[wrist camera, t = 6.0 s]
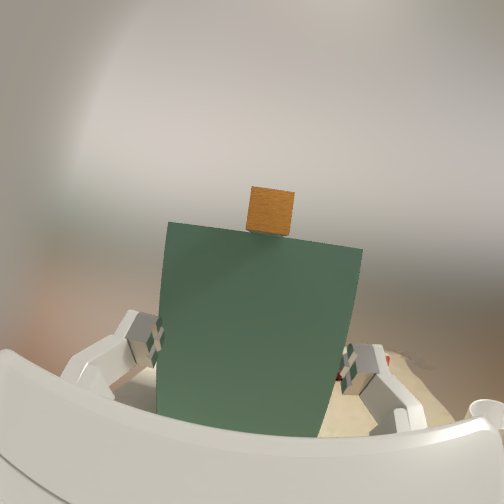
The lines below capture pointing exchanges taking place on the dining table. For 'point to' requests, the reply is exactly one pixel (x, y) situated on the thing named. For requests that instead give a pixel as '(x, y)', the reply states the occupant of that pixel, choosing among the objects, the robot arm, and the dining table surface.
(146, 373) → the dining table surface
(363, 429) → the dining table surface
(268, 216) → the lever bar
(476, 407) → the white cup
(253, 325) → the green box
